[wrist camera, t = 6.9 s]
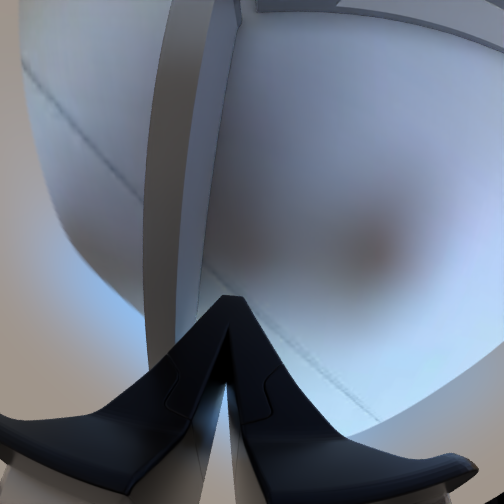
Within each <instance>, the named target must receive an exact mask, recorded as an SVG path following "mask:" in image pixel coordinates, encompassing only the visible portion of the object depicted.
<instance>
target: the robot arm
mask: <svg viewBox="0 0 504 504" xmlns="http://www.w3.org/2000/svg"><path fill="white" fill-rule="evenodd" d="M226 385H227V401H228V415H229V429H230V442H231V454H232V466H233V476H234V485H235V486H234V487H235V499H236V504H452V503H451V499H450V496H449V493H450V492H452V491H454V490H455V489H457V488H458V487H460V486H461V485H463V484H464V483H466V482H467V481H468V480H470V479H471V478H472V477H474V476H475V475H476V474H477V473H478V471H479V468H478V467H477V466H476V465H475V464H474V463H473V462H472V461H470V460H469V459H467V458H465V457H463V456H460V455H457V454H455V453H447V454H443V455H440V456H436V457H433V458H428V459H408V458H404V457H400V456H396V455H393V454H390V453H387V452H384V451H380V450H377V449H375V448H371V447H369V446H366V445H363V444H360V443H357V442H354V441H352V440H350V439H348V438H346V437H344V436H343V435H341V434H340V433H339V432H338V431H337V430H335V429H334V428H333V426H332V425H331V424H330V423H329V422H328V421H327V420H326V419H325V417H324V416H323V415H322V414H321V413H320V412H319V411H318V409H317V408H316V407H315V406H314V405H313V404H312V403H311V401H310V400H309V399H308V398H307V397H306V395H305V394H304V393H303V392H302V390H301V389H300V388H299V387H298V385H297V384H296V382H295V381H294V380H293V378H292V377H291V375H290V374H289V372H288V370H287V369H286V367H285V365H284V364H283V362H282V361H281V359H280V357H279V356H278V354H277V353H276V351H275V349H274V348H273V346H272V344H271V343H270V341H269V339H268V338H267V336H266V334H265V333H264V331H263V329H262V328H261V326H260V324H259V323H258V321H257V319H256V318H255V316H254V314H253V312H252V311H251V309H250V307H249V306H248V304H247V302H246V301H245V299H244V297H242V296H230V295H222V296H221V297H220V298H219V299H218V300H217V301H216V302H215V303H214V304H213V305H212V306H211V307H210V308H209V309H208V311H207V312H206V313H205V314H204V315H203V316H202V317H201V318H200V319H199V320H198V321H197V322H196V323H195V324H194V325H193V326H192V327H191V328H190V329H189V331H188V332H187V333H186V334H185V335H184V336H183V337H182V338H181V339H180V340H179V341H178V342H177V343H176V344H175V345H174V346H173V347H172V348H171V349H170V350H169V351H168V352H167V354H166V355H164V356H163V358H162V359H161V360H160V361H159V362H158V363H157V364H156V365H155V366H154V367H153V368H152V369H150V370H149V371H148V372H147V373H146V374H145V375H144V376H143V377H141V378H140V379H139V380H138V381H137V382H135V383H134V384H133V385H132V386H130V387H129V388H128V389H126V390H125V391H124V392H123V393H121V394H120V395H119V396H118V397H116V398H115V399H114V400H112V401H111V402H110V403H109V404H107V405H106V406H104V407H103V408H102V409H100V410H98V411H96V412H94V413H91V414H88V415H82V416H75V417H66V418H56V419H45V420H30V421H29V420H28V421H24V420H16V419H11V418H8V417H6V416H4V415H2V414H0V459H1V460H2V461H3V462H5V463H6V464H7V466H6V469H5V471H4V474H3V477H2V479H1V482H0V504H199V501H200V497H201V492H202V488H203V482H204V479H205V475H206V470H207V466H208V462H209V457H210V453H211V448H212V444H213V439H214V435H215V431H216V426H217V422H218V417H219V413H220V408H221V404H222V399H223V395H224V391H225V386H226ZM485 504H504V492H503V493H502V494H500V495H498V496H497V497H495V498H493V499H492V500H490V501H488V502H486V503H485Z"/></svg>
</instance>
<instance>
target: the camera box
mask: <svg viewBox="0 0 504 504" xmlns="http://www.w3.org/2000/svg"><path fill="white" fill-rule="evenodd" d="M255 2H256V10H257V12H276V11H314V12H334V13H346V14H356V15H365V16H372V17H379V18H385V19H391V20H397V21H402V22H407V23H411V24H416V25H420V26H424V27H428V28H432V29H436V30H440V31H443V32H447V33H450V34H453V35H457V36H460V37H463V38H466V39H469V40H472V41H474V42H477V43H480V44H483V45H485V46H488V47H490V48H493V49H495V50H498V51H500V52H502V53H504V0H255Z"/></svg>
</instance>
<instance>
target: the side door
mask: <svg viewBox="0 0 504 504" xmlns="http://www.w3.org/2000/svg"><path fill="white" fill-rule="evenodd" d="M241 22H242V14H241V4H240V0H172V3H171V7H170V11H169V15H168V20H167V24H166V29H165V33H164V38H163V43H162V48H161V53H160V59H159V64H158V70H157V76H156V82H155V89H154V96H153V103H152V111H151V119H150V128H149V137H148V147H147V159H146V172H145V189H144V211H143V290H144V312H145V329H146V341H147V353H148V364H149V370H150V369H152V368H153V367H154V366H155V365H156V364H157V363H158V362H159V361H160V360H161V359H162V358H163V356H164V355H166V354H167V352H168V351H169V350H170V349H171V348H172V347H173V346H174V345H175V344H176V343H177V342H178V341H179V340H180V339H181V338H182V337H183V336H184V335H185V334H186V333H187V332H188V331H189V329H190V328H191V327H192V326H193V325H194V324H195V319H196V315H197V309H198V298H199V287H200V276H201V266H202V256H203V247H204V238H205V229H206V221H207V213H208V205H209V197H210V189H211V182H212V174H213V167H214V160H215V153H216V147H217V140H218V134H219V127H220V121H221V115H222V109H223V103H224V97H225V91H226V86H227V80H228V75H229V69H230V64H231V59H232V54H233V48H234V43H235V38H236V34H237V29H238V27H239V26H240V25H241Z"/></svg>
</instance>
